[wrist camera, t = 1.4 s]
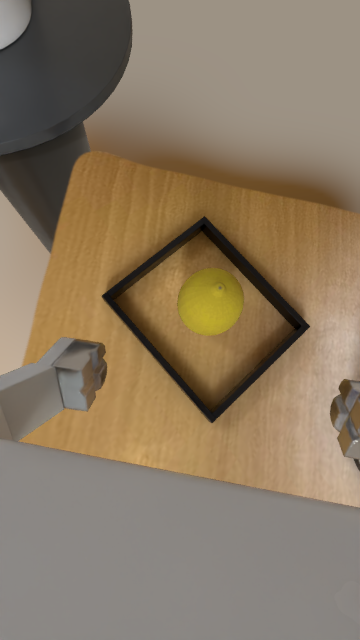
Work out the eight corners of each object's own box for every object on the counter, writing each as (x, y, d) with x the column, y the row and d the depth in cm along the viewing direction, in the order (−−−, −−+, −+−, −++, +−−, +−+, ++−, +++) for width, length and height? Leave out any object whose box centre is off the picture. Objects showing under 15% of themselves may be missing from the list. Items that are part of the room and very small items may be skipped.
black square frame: (103, 300, 28) (101, 295, 27) (202, 223, 31) (204, 215, 30) (208, 421, 27) (211, 423, 25) (302, 329, 29) (310, 326, 28)
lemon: (188, 350, 28) (201, 336, 20) (165, 299, 29) (170, 267, 21) (238, 328, 29) (269, 307, 21) (215, 279, 30) (237, 242, 22)
